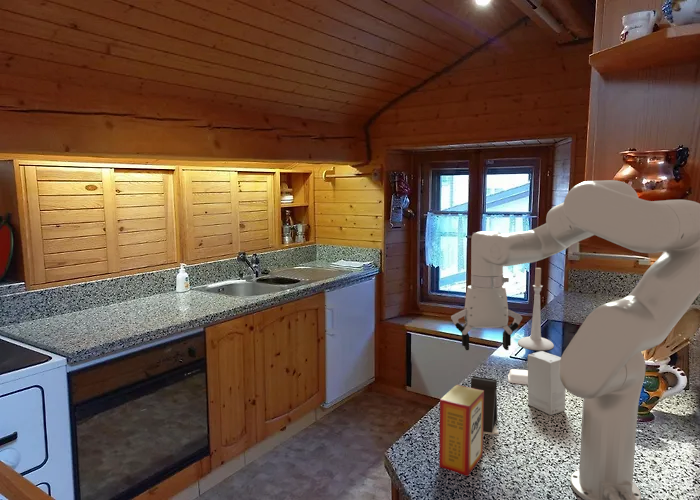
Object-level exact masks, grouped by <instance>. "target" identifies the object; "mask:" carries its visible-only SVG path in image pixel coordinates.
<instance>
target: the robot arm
mask: <svg viewBox="0 0 700 500" xmlns="http://www.w3.org/2000/svg"><path fill="white" fill-rule="evenodd" d="M593 236H597V237H598V238H601V239H604V240H606V241H608V242H611V243H613V244H616V245H618V246H621V247H623V248H626V249H628V250H630V251H633V252H638V253H641V254H642V253H643V254H656V253H657V254H658V253H661V255H660V256H659V257H658V258H657V259H656V261H654V263H652V264H651V265H650V267H649V268H647V270H646V271H645V272H644V273H643V275H642V276H641V278H640V280H639V281H638V282H637V284H636V286H635V287H634V288H633V289H632V290H631V292H630V293H629V294H628V295H627V296H625V297H623V298H620V299H617V300H612V301H609V302H607V303H603V304H602V305H599V306H597V307H596V308H595V309H593V311H591V312H590V313H589V315H587V316H586V318H585V320H584V321H583V322H582V324H581V325H580V326H579V328H578V330H577V331H576V333H575V335H574V336H573V337H572V338H571V340H570V342H569V344H568V345H567V346H566V348H565V350H564V351H563V352H562V355H561V356H560V357H561V359H560V363H559V376H560V379H561V382H562V384H563V386H564V387H565V390H566V391H568V392H569V393H570V394H572V395H573V396H575V397H577V398H579V399H583V402H582V412H581V427H580V428H581V431H580V432H581V433H580V448H579V450H580V451H579V469H577V470H575V471H573V472H572V474H571V476H570V481H569V482H570V486H571V489H572V490H573V492H574V493H576V495H577V496H578V497H580V498H582V499H583V500H642V493H641V490H640V489H639V487H638V486H637V485H636V484H635V483H634V468H635V454H636V452H635V451H636V438H637V437H636V436H637V427H638V426H637V423H638V413H639V402H640V397H641V392H642V388H643V384H644V381H645V376H646V368H647V367H646V360H645V357H644V356H645V355H644V354H643V352H644V351H647V350H650V349H653V348H655V347H658V346H660V344H662V343H663V342H664V341H665V340H666V339H667V337H668V336H669V335H670V333H671V332H672V330H673V328H674V327H675V326H677V324H678V322H679V321H680V320H681V319H682V318H683V316H684V315H685V314H686V312H687V311H688V310H689V309H690V307H691V306H692V304H693V303H694V302H695V300H696V299H697V297H698V296H699V295H700V203H699V202H697V201H694V200H688V199H666V200H654V201H653V200H652V201H651V200H646V199H643V198H639V195H638V193H637V191H636V190H635V189H634V188H633V187H632V186H631V185H630V184H629V183H626V182H625V181H622V180H621V181H620V180H616V179H615V180H614V179H611V180H609V179H608V180H607V179H606V180H604V179H603V180H587V181H586V180H585V181H582V182H580V183H578V184H576V185H574V186H573V187H572V188H571V189H570V190H569V191H568V192H567V194H566V196H565V197H564V200H563V202H561V203H559V204H557V205H555V206H553V207H551V209H549V211H548V212H547V214H546V218H545V223H544V224H541V225H540V226H538V227H535V228H533V229H530V230H527V231H516V232H515V231H514V232H506V233H501V232H499V231H492V230H491V231H489V230H481V231H477V232H474V233H473V234H472V235H471V238H470V239H471V244H470V245H471V247H470V248H471V250H470V251H471V252H470V253H471V254H470V255H471V257H470V258H471V259H470V263H471V265H470V270H471V272H470V273H471V274H470V280H471V281H470V285H468V286H467V287H466V293H465V302H464V309H462V310H460V311H458V312H455V313H454V314H452V315H451V316H450V319H451V320H452V322H453V324H454V326H455V328H456V329H457V330H458V331H459V332H460V333H461V346H462V347H464V349H465V351H469V350H470V334H469V332H470V331H471V330H472V329H473V328H477V329H478V328H484V329H485V328H502V329H503V331H502V348H503V349H504V350H505V351H509V347H510V346H511V345H512V344H511V343H512V340H511V339H512V338H511V337H512V336H511V335H513V332H515V330H517V328H518V327H519V325H520V323H521V321H522V320H523V316H522V315H521V314H519V313H517V312H515V311H513V310H511V309H509V305H508V295H507V290H506V287H505V286H504V284H506V283H509V276H505V275H504V267H512V266H516V265H523V264H530V263H536V262H538V261H542V260H544V259H547V258H550V257H552V256H553V255H556V254H558V253H561V252H563V251H564V250H567V249H568V248H570V247H571V246H572V245H574V244H576V243H579V242H581V241H583V240H586V239H588V238H591V237H593ZM509 317H511V318H513V321H512V322H511V323H510V324H509ZM462 318H464V322H465V323H463V325H462V324H461V323H460V321H459V320H460V319H462Z"/></svg>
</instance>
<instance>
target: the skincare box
mask: <svg viewBox="0 0 700 500" xmlns="http://www.w3.org/2000/svg"><path fill="white" fill-rule="evenodd" d="M561 357H562V356H558V355H555V354H552V353H549V352H546V351H545V350H542V351H541V350H539V351H536V352H533V353H529V354H527V370H528V385H527V394H528V395H527V404H528V406H531V407H533V408H536V409H537V410H538V411H539V410H540V411H541V412H543V413H545V414H547V415H549V416H551V415H552V416H553V415H555V414H560V413H562V412H563V413H564V412H565V410H566V388H565V387H564V386H563V384H562V382H561V379H560V376H559V363H560V359H561Z"/></svg>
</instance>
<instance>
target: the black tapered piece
mask: <svg viewBox="0 0 700 500" xmlns="http://www.w3.org/2000/svg"><path fill="white" fill-rule="evenodd" d="M497 383H498V382H497V379H493V378H488V377H481V376H475V375H474V376H472V377H471V378H470V388H475V389H479V390H484V421H483V431H485V432H490V433H492V432H493V429H494V426H496V423H497V420H498V394H497V393H498V391H497V386H498V385H497Z"/></svg>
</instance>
